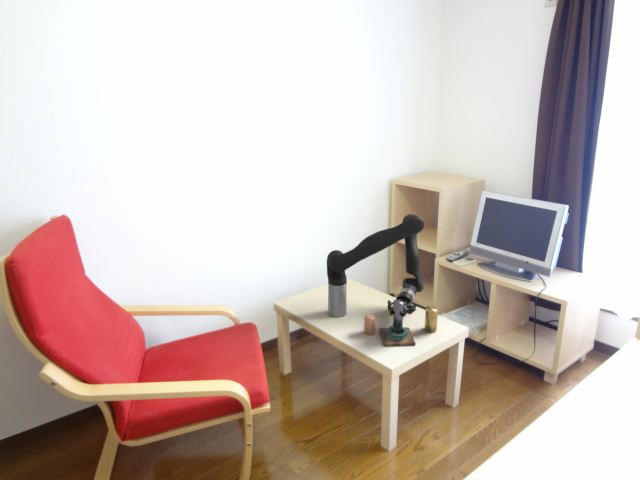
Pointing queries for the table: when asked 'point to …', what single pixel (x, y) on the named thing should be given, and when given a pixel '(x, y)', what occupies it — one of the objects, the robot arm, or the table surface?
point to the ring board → (396, 336)
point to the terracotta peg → (369, 324)
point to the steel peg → (397, 313)
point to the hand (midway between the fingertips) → (396, 314)
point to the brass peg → (431, 319)
